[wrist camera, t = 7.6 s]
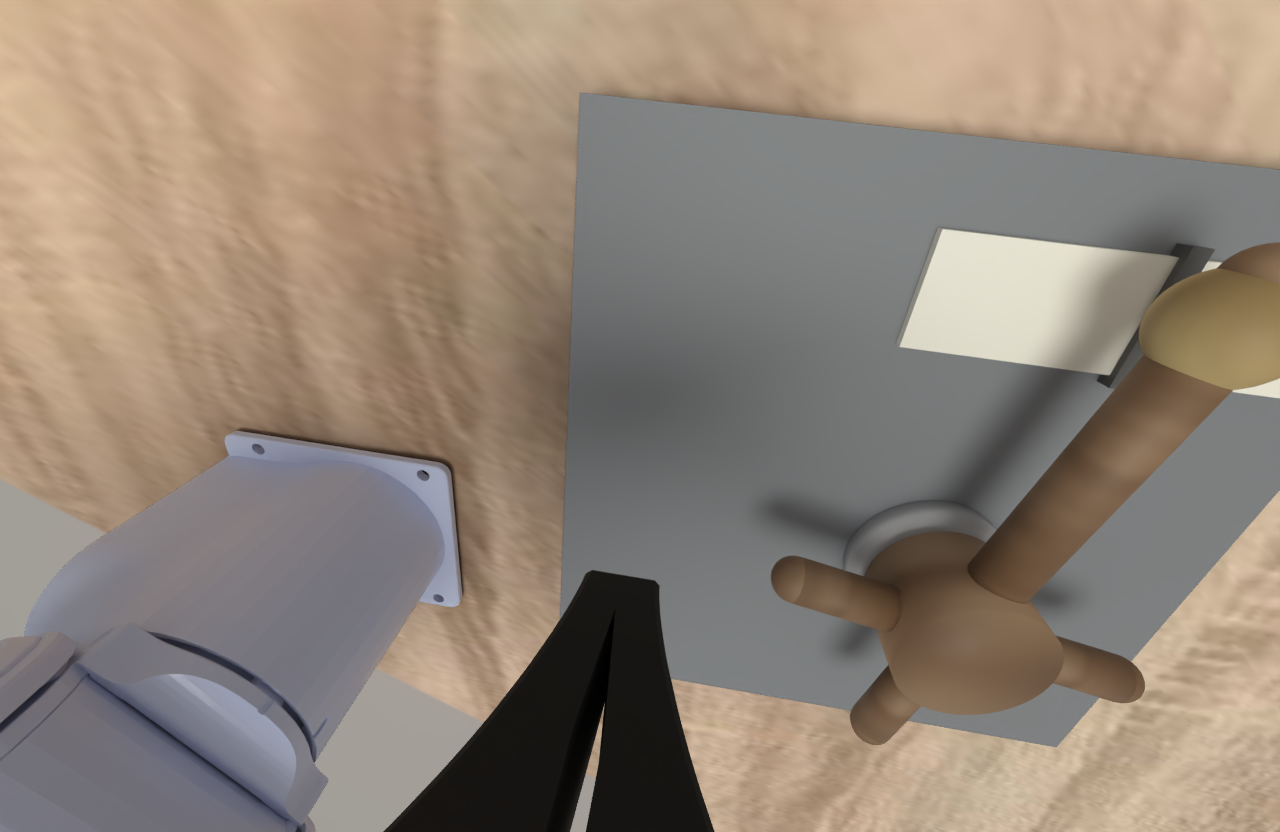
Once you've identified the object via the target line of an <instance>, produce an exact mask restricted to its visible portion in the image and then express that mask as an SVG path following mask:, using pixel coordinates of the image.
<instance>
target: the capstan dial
mask: <svg viewBox="0 0 1280 832" xmlns="http://www.w3.org/2000/svg"><path fill="white" fill-rule="evenodd" d="M1139 343H1140V347H1141V350H1142V353H1143V356H1142V358H1141V359H1140V360H1139V361H1138V362H1137V363H1136V365H1135V366H1134V367H1133V368H1132V369H1131V371H1130V372H1129V373H1128V374H1127V375H1126V377H1125V378H1124V379H1123V380H1122V381H1121V383H1120V384H1119V385H1118V386H1117V387H1116V388H1115V390H1114V391H1113V392H1112V393H1111V394H1110V396H1109V397H1108V398H1107V399H1106V400H1105V402H1104V403H1103V404H1102V405H1101V406H1100V408H1099V409H1098V410H1097V411H1096V412H1095V414H1094V415H1093V416H1092V417H1091V418H1090V419H1089V421H1088V422H1087V423H1086V424H1085V425H1084V427H1083V428H1082V429H1081V430H1080V431H1079V433H1078V434H1077V435H1076V436H1075V437H1074V439H1073V440H1072V441H1071V442H1070V443H1069V444H1068V446H1067V447H1066V448H1065V449H1064V450H1063V452H1062V453H1061V454H1060V455H1059V456H1058V458H1057V459H1056V460H1055V461H1054V462H1053V464H1052V465H1051V466H1050V467H1049V468H1048V470H1047V471H1046V472H1045V473H1044V474H1043V475H1042V477H1041V478H1040V479H1039V480H1038V481H1037V483H1036V484H1035V485H1034V486H1033V487H1032V489H1031V490H1030V491H1029V492H1028V493H1027V495H1026V496H1025V497H1024V498H1023V499H1022V500H1021V502H1020V503H1019V504H1018V505H1017V506H1016V508H1015V509H1014V510H1013V511H1012V512H1011V514H1010V515H1009V516H1008V517H1007V518H1006V520H1005V521H1004V522H1003V523H1002V524H1001V526H1000V527H999V528H998V529H997V530H996V531H995V533H994V534H993V535H992V536H991V537H990V539H989V540H988V541H987V542H986V543H985V542H983V541H981V540H979V539H978V538H975V537H972V536H970V535H966V534H962V533H957V532H946V531H938V532H927V533H921V534H917V535H913V536H910V537H907V538H904V539H902V540H899V541H897V542H895V543H893V544H892V545H890V546H888V547H887V548H885V549H884V550H883V551H881V552H880V553H879V554H878V555H877V556H876V557H875V558H874V559H873V560H872V562H871V563H870V564H869V566H868V568H867V569H866V572H865V574H864V576H861V575H858V574H855V573H852V572H848V571H845V570H842V569H839V568H835V567H832V566H829V565H826V564H822V563H819V562H816V561H813V560H810V559H806V558H803V557H800V556H786V557H783V558H781V559H780V560H779V561H777V562H776V564H775V565H774V567H773V569H772V572H771V584H772V586H773V589H774V591H775V592H776V594H777V595H778V596H779V597H780V598H781V599H783V600H785V601H787V602H789V603H792V604H795V605H798V606H802V607H805V608H808V609H811V610H815V611H818V612H821V613H825V614H828V615H831V616H834V617H838V618H841V619H844V620H847V621H851V622H854V623H857V624H861V625H864V626H867V627H870V628H874V629H876V631H877V634H878V636H879V639H880V642H881V645H882V648H883V651H884V654H885V657H886V659H887V662H888V666H887V667H886V668H885V669H884V670H883V672H882V673H881V674H880V675H879V676H878V677H877V679H876V680H875V681H874V682H873V683H872V685H871V686H870V687H869V688H868V689H867V690H866V692H865V693H864V694H863V695H862V696H861V698H860V699H859V700H858V701H857V702H856V703H855V705H854V706H853V708H852V710H851V714H850V721H851V725H852V728H853V730H854V732H855V733H856V734H857V736H858V737H859V738H860V739H862V740H863V741H864V742H866V743H869V744H872V745H881V744H884V743H886V742H887V741H888V740H889V739H890V738H891V737H892V736H893V735H894V734H895V733H896V732H897V731H898V730H899V729H900V728H901V727H902V726H903V725H904V724H905V723H906V722H907V721H908V719H909V718H910V717H911V716H912V715H913V714H914V713H915V712H916V711H917V710H918V709H919V708H920V707H921V706H922V707H925V708H928V709H930V710H934V711H938V712H942V713H948V714H957V715H979V714H988V713H994V712H999V711H1004V710H1007V709H1010V708H1014V707H1016V706H1019V705H1021V704H1024V703H1026V702H1028V701H1030V700H1032V699H1033V698H1035V697H1037V696H1038V695H1040V694H1041V693H1042V692H1044V691H1045V690H1046V689H1048V688H1049V687H1050V686H1051V685H1052V684H1053V683H1054V684H1057V685H1060V686H1063V687H1067V688H1070V689H1073V690H1076V691H1080V692H1083V693H1086V694H1090V695H1093V696H1096V697H1099V698H1103V699H1106V700H1109V701H1112V702H1118V703H1130V702H1133V701H1136V700H1137V699H1139V698H1140V697H1141V696H1142V694H1143V692H1144V689H1145V682H1144V678H1143V676H1142V674H1141V672H1140V671H1139V669H1138V668H1137V667H1136V666H1135V665H1134V664H1133V663H1132V662H1130V661H1129V660H1128V659H1126V658H1124V657H1122V656H1120V655H1117V654H1114V653H1111V652H1108V651H1105V650H1101V649H1098V648H1095V647H1092V646H1088V645H1085V644H1082V643H1079V642H1075V641H1072V640H1069V639H1066V638H1062V637H1059V636H1056V635H1055V634H1054V633H1053V631H1052V630H1051V628H1050V627H1049V626H1048V624H1047V623H1046V621H1045V620H1044V619H1043V617H1042V616H1041V614H1040V613H1039V612H1038V610H1037V609H1036V607H1035V606H1034V605H1033V603H1032V602H1031V600H1030V599H1031V598H1032V597H1033V596H1034V595H1035V594H1036V593H1037V592H1038V591H1039V590H1040V589H1041V588H1042V587H1043V586H1044V585H1045V584H1046V583H1047V582H1048V581H1049V580H1050V579H1051V578H1052V577H1053V576H1054V574H1055V573H1056V572H1057V571H1058V570H1059V569H1060V568H1061V567H1062V566H1063V565H1064V564H1065V563H1066V562H1067V561H1068V560H1069V559H1070V558H1071V557H1072V556H1073V555H1074V554H1075V553H1076V552H1077V551H1078V550H1079V549H1080V548H1081V547H1082V546H1083V545H1084V544H1085V543H1086V541H1087V540H1088V539H1089V538H1090V537H1091V536H1092V535H1093V534H1094V533H1095V532H1096V531H1097V530H1098V529H1099V528H1100V527H1101V526H1102V525H1103V524H1104V523H1105V522H1106V521H1107V520H1108V519H1109V518H1110V517H1111V516H1112V515H1113V514H1114V513H1115V512H1116V511H1117V510H1118V508H1119V507H1120V506H1121V505H1122V504H1123V503H1124V502H1125V501H1126V500H1127V499H1128V498H1129V497H1130V496H1131V495H1132V494H1133V493H1134V492H1135V491H1136V490H1137V489H1138V488H1139V487H1140V486H1141V485H1142V484H1143V483H1144V482H1145V481H1146V480H1147V479H1148V478H1149V477H1150V476H1151V474H1152V473H1153V472H1154V471H1155V470H1156V469H1157V468H1158V467H1159V466H1160V465H1161V464H1162V463H1163V462H1164V461H1165V460H1166V459H1167V458H1168V457H1169V456H1170V455H1171V454H1172V453H1173V452H1174V451H1175V450H1176V449H1177V448H1178V447H1179V446H1180V445H1181V444H1182V443H1183V441H1184V440H1185V439H1186V438H1187V437H1188V436H1189V435H1190V434H1191V433H1192V432H1193V431H1194V430H1195V429H1196V428H1197V427H1198V426H1199V425H1200V424H1201V423H1202V422H1203V421H1204V420H1205V419H1206V418H1207V417H1208V416H1209V415H1210V414H1211V413H1212V412H1213V411H1214V410H1215V408H1216V407H1217V406H1218V405H1219V404H1220V403H1221V402H1222V401H1223V400H1224V399H1225V398H1226V397H1227V396H1228V395H1229V394H1230V393H1231V392H1232V391H1233V390H1239V389H1245V388H1250V387H1255V386H1259V385H1263V384H1266V383H1269V382H1271V381H1274V380H1277V379H1279V378H1280V242H1276V243H1266V244H1262V245H1257V246H1253V247H1250V248H1248V249H1245V250H1242V251H1240V252H1238V253H1236V254H1235V255H1233V256H1231V257H1229V258H1228V259H1227V260H1225V261H1224V262H1222V263H1221V264H1220V265H1219V266H1218V267H1217V268H1216V269H1211V270H1207V271H1204V272H1201V273H1198V274H1195V275H1192V276H1190V277H1188V278H1186V279H1184V280H1182V281H1180V282H1178V283H1176V284H1174V285H1173V286H1171V287H1170V288H1168V289H1167V290H1166V291H1164V292H1163V293H1162V294H1161V295H1160V296H1159V297H1157V298H1156V299H1155V301H1154V302H1153V303H1152V304H1151V305H1150V307H1149V308H1148V309H1147V311H1146V313H1145V314H1144V316H1143V319H1142V321H1141V324H1140V329H1139Z"/></svg>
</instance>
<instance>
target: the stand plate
mask: <svg viewBox="0 0 1280 832" xmlns="http://www.w3.org/2000/svg"><path fill="white" fill-rule="evenodd" d="M1276 242H1280V170H1278V169H1268V168H1259V167H1250V166H1241V165H1232V164H1223V163H1214V162H1205V161H1196V160H1187V159H1178V158H1169V157H1160V156H1151V155H1141V154H1132V153H1123V152H1114V151H1105V150H1096V149H1087V148H1078V147H1069V146H1060V145H1051V144H1042V143H1033V142H1024V141H1014V140H1005V139H996V138H987V137H978V136H969V135H960V134H951V133H942V132H933V131H924V130H915V129H906V128H897V127H887V126H878V125H869V124H860V123H851V122H842V121H833V120H824V119H815V118H806V117H797V116H788V115H779V114H770V113H760V112H751V111H742V110H733V109H724V108H715V107H706V106H697V105H688V104H679V103H670V102H661V101H652V100H643V99H633V98H624V97H615V96H606V95H597V94H588V93H580V102H579V128H578V155H577V181H576V208H575V234H574V260H573V287H572V313H571V340H570V366H569V392H568V419H567V445H566V472H565V498H564V524H563V551H562V577H561V603H560V619H561V617H562V616H563V614H564V613H565V611H566V609H567V608H568V606H569V604H570V603H571V601H572V599H573V597H574V596H575V594H576V592H577V590H578V588H579V586H580V585H581V583H582V580H583V578H584V576H585V574H586V573H587V572H589V571H591V570H596V571H602V572H608V573H614V574H620V575H626V576H632V577H638V578H644V579H650V580H655V581H656V582H657V583H658V585H659V586H660V590H659V599H660V616H661V625H662V632H663V639H664V646H665V652H666V658H667V663H668V668H669V673H670V677H671V679H675V680H681V681H687V682H692V683H698V684H703V685H709V686H715V687H720V688H726V689H732V690H737V691H743V692H748V693H754V694H760V695H765V696H771V697H777V698H782V699H788V700H793V701H799V702H805V703H810V704H816V705H822V706H827V707H833V708H838V709H844V710H850V711H851V710H852V708H853V706H854V705H855V703H856V702H857V701H858V700H859V699H860V698H861V696H862V695H863V694H864V693H865V692H866V690H867V689H868V688H869V687H870V686H871V685H872V683H873V682H874V681H875V680H876V679H877V677H878V676H879V675H880V674H881V673H882V672H883V670H884V669H885V668H886V667H887V666H888V662H887V659H886V657H885V654H884V651H883V648H882V645H881V642H880V639H879V636H878V634H877V631H876V629H874V628H870V627H867V626H864V625H861V624H857V623H854V622H851V621H847V620H844V619H841V618H838V617H834V616H831V615H828V614H825V613H821V612H818V611H815V610H811V609H808V608H805V607H802V606H798V605H795V604H792V603H789V602H787V601H785V600H783V599H781V598H780V597H779V596H778V595H777V594H776V592H775V591H774V589H773V586H772V584H771V572H772V569H773V567H774V565H775V564H776V562H777V561H779V560H780V559H781V558H783V557H786V556H800V557H803V558H806V559H810V560H813V561H816V562H819V563H822V564H826V565H829V566H832V567H835V568H839V569H842V570H845V571H848V572H852V573H855V574H858V575H861V576H864V574H865V572H866V569H867V568H868V566H869V564H870V563H871V562H872V560H873V559H874V558H875V557H876V556H877V555H878V554H879V553H880V552H881V551H883V550H884V549H885V548H887V547H888V546H890V545H892V544H893V543H895V542H897V541H899V540H902V539H904V538H907V537H910V536H913V535H917V534H921V533H927V532H938V531H946V532H957V533H962V534H966V535H970V536H972V537H975V538H978V539H979V540H981V541H983V542H985V543H986V542H987V541H988V540H989V539H990V537H991V536H992V535H993V534H994V533H995V531H996V530H997V529H998V528H999V527H1000V526H1001V524H1002V523H1003V522H1004V521H1005V520H1006V518H1007V517H1008V516H1009V515H1010V514H1011V512H1012V511H1013V510H1014V509H1015V508H1016V506H1017V505H1018V504H1019V503H1020V502H1021V500H1022V499H1023V498H1024V497H1025V496H1026V495H1027V493H1028V492H1029V491H1030V490H1031V489H1032V487H1033V486H1034V485H1035V484H1036V483H1037V481H1038V480H1039V479H1040V478H1041V477H1042V475H1043V474H1044V473H1045V472H1046V471H1047V470H1048V468H1049V467H1050V466H1051V465H1052V464H1053V462H1054V461H1055V460H1056V459H1057V458H1058V456H1059V455H1060V454H1061V453H1062V452H1063V450H1064V449H1065V448H1066V447H1067V446H1068V444H1069V443H1070V442H1071V441H1072V440H1073V439H1074V437H1075V436H1076V435H1077V434H1078V433H1079V431H1080V430H1081V429H1082V428H1083V427H1084V425H1085V424H1086V423H1087V422H1088V421H1089V419H1090V418H1091V417H1092V416H1093V415H1094V414H1095V412H1096V411H1097V410H1098V409H1099V408H1100V406H1101V405H1102V404H1103V403H1104V402H1105V400H1106V399H1107V398H1108V397H1109V396H1110V394H1111V393H1112V392H1113V391H1114V390H1115V388H1116V387H1117V386H1118V385H1119V384H1120V383H1121V381H1122V380H1123V379H1124V378H1125V377H1126V375H1127V374H1128V373H1129V372H1130V371H1131V369H1132V368H1133V367H1134V366H1135V365H1136V363H1137V362H1138V361H1139V360H1140V359H1141V358H1142V356H1143V353H1142V350H1141V347H1140V343H1139V329H1140V324H1141V321H1142V319H1143V316H1144V314H1145V313H1146V311H1147V309H1148V308H1149V307H1150V305H1151V304H1152V303H1153V302H1154V301H1155V299H1156V298H1157V297H1159V296H1160V295H1161V294H1162V293H1163V292H1164V291H1166V290H1167V289H1168V288H1170V287H1171V286H1173V285H1174V284H1176V283H1178V282H1180V281H1182V280H1184V279H1186V278H1188V277H1190V276H1192V275H1195V274H1198V273H1201V272H1204V271H1207V270H1211V269H1216V268H1217V267H1218V266H1219V265H1220V264H1221V263H1222V262H1224V261H1225V260H1227V259H1228V258H1229V257H1231V256H1233V255H1235V254H1236V253H1238V252H1240V251H1242V250H1245V249H1248V248H1250V247H1253V246H1257V245H1262V244H1266V243H1276ZM1279 490H1280V378H1279V379H1277V380H1274V381H1271V382H1269V383H1266V384H1263V385H1259V386H1255V387H1250V388H1245V389H1239V390H1233V391H1232V392H1231V393H1230V394H1229V395H1228V396H1227V397H1226V398H1225V399H1224V400H1223V401H1222V402H1221V403H1220V404H1219V405H1218V406H1217V407H1216V408H1215V410H1214V411H1213V412H1212V413H1211V414H1210V415H1209V416H1208V417H1207V418H1206V419H1205V420H1204V421H1203V422H1202V423H1201V424H1200V425H1199V426H1198V427H1197V428H1196V429H1195V430H1194V431H1193V432H1192V433H1191V434H1190V435H1189V436H1188V437H1187V438H1186V439H1185V440H1184V441H1183V443H1182V444H1181V445H1180V446H1179V447H1178V448H1177V449H1176V450H1175V451H1174V452H1173V453H1172V454H1171V455H1170V456H1169V457H1168V458H1167V459H1166V460H1165V461H1164V462H1163V463H1162V464H1161V465H1160V466H1159V467H1158V468H1157V469H1156V470H1155V471H1154V472H1153V473H1152V474H1151V476H1150V477H1149V478H1148V479H1147V480H1146V481H1145V482H1144V483H1143V484H1142V485H1141V486H1140V487H1139V488H1138V489H1137V490H1136V491H1135V492H1134V493H1133V494H1132V495H1131V496H1130V497H1129V498H1128V499H1127V500H1126V501H1125V502H1124V503H1123V504H1122V505H1121V506H1120V507H1119V508H1118V510H1117V511H1116V512H1115V513H1114V514H1113V515H1112V516H1111V517H1110V518H1109V519H1108V520H1107V521H1106V522H1105V523H1104V524H1103V525H1102V526H1101V527H1100V528H1099V529H1098V530H1097V531H1096V532H1095V533H1094V534H1093V535H1092V536H1091V537H1090V538H1089V539H1088V540H1087V541H1086V543H1085V544H1084V545H1083V546H1082V547H1081V548H1080V549H1079V550H1078V551H1077V552H1076V553H1075V554H1074V555H1073V556H1072V557H1071V558H1070V559H1069V560H1068V561H1067V562H1066V563H1065V564H1064V565H1063V566H1062V567H1061V568H1060V569H1059V570H1058V571H1057V572H1056V573H1055V574H1054V576H1053V577H1052V578H1051V579H1050V580H1049V581H1048V582H1047V583H1046V584H1045V585H1044V586H1043V587H1042V588H1041V589H1040V590H1039V591H1038V592H1037V593H1036V594H1035V595H1034V596H1033V597H1032V598H1031V599H1030V600H1031V602H1032V603H1033V605H1034V606H1035V607H1036V609H1037V610H1038V612H1039V613H1040V614H1041V616H1042V617H1043V619H1044V620H1045V621H1046V623H1047V624H1048V626H1049V627H1050V628H1051V630H1052V631H1053V633H1054V634H1055V635H1056V636H1059V637H1062V638H1066V639H1069V640H1072V641H1075V642H1079V643H1082V644H1085V645H1088V646H1092V647H1095V648H1098V649H1101V650H1105V651H1108V652H1111V653H1114V654H1117V655H1120V656H1122V657H1124V658H1126V659H1128V660H1129V661H1130V662H1131V661H1132V660H1133V658H1134V657H1135V656H1136V655H1137V654H1138V653H1139V651H1140V650H1141V649H1142V648H1143V647H1144V646H1145V645H1146V643H1147V642H1148V641H1149V640H1150V639H1151V638H1152V637H1153V635H1154V634H1155V633H1156V632H1157V631H1158V630H1159V628H1160V627H1161V626H1162V625H1163V624H1164V623H1165V622H1166V620H1167V619H1168V618H1169V617H1170V616H1171V615H1172V613H1173V612H1174V611H1175V610H1176V609H1177V608H1178V607H1179V605H1180V604H1181V603H1182V602H1183V601H1184V600H1185V599H1186V597H1187V596H1188V595H1189V594H1190V593H1191V592H1192V590H1193V589H1194V588H1195V587H1196V586H1197V585H1198V584H1199V582H1200V581H1201V580H1202V579H1203V578H1204V577H1205V575H1206V574H1207V573H1208V572H1209V571H1210V570H1211V569H1212V567H1213V566H1214V565H1215V564H1216V563H1217V562H1218V561H1219V559H1220V558H1221V557H1222V556H1223V555H1224V554H1225V552H1226V551H1227V550H1228V549H1229V548H1230V547H1231V546H1232V544H1233V543H1234V542H1235V541H1236V540H1237V539H1238V538H1239V536H1240V535H1241V534H1242V533H1243V532H1244V531H1245V529H1246V528H1247V527H1248V526H1249V525H1250V524H1251V523H1252V521H1253V520H1254V519H1255V518H1256V517H1257V516H1258V514H1259V513H1260V512H1261V511H1262V510H1263V509H1264V508H1265V506H1266V505H1267V504H1268V503H1269V502H1270V501H1271V500H1272V498H1273V497H1274V496H1275V495H1276V494H1277V493H1278V491H1279ZM1098 699H1099V697H1096V696H1093V695H1090V694H1086V693H1083V692H1080V691H1076V690H1073V689H1070V688H1067V687H1063V686H1060V685H1057V684H1054V683H1053V684H1052V685H1051V686H1050V687H1049V688H1048V689H1046V690H1045V691H1044V692H1042V693H1041V694H1040V695H1038V696H1037V697H1035V698H1033V699H1032V700H1030V701H1028V702H1026V703H1024V704H1021V705H1019V706H1016V707H1014V708H1010V709H1007V710H1004V711H999V712H994V713H988V714H979V715H957V714H948V713H942V712H938V711H934V710H930V709H928V708H925V707H922V706H921V707H920V708H919V709H918V710H917V711H916V712H915V713H914V714H913V715H912V716H911V717H910V718H909V719H908V721H912V722H917V723H923V724H928V725H934V726H940V727H945V728H951V729H957V730H962V731H968V732H973V733H979V734H985V735H990V736H996V737H1001V738H1007V739H1013V740H1018V741H1024V742H1030V743H1035V744H1041V745H1046V746H1052V747H1057V746H1058V745H1059V744H1060V742H1061V741H1062V740H1063V739H1064V738H1065V737H1066V736H1067V734H1068V733H1069V732H1070V731H1071V730H1072V729H1073V727H1074V726H1075V725H1076V724H1077V723H1078V722H1079V721H1080V719H1081V718H1082V717H1083V716H1084V715H1085V714H1086V712H1087V711H1088V710H1089V709H1090V708H1091V707H1092V706H1093V704H1094V703H1095V702H1096V701H1097V700H1098Z"/></svg>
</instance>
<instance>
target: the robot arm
mask: <svg viewBox="0 0 1280 832" xmlns="http://www.w3.org/2000/svg"><path fill="white" fill-rule="evenodd" d="M224 440H225V445H226V448H227V451H228V454H229V456H228V457H226V458H225V459H223V460H222V461H220V462H219V463H217V464H215V465H214V466H212V467H211V468H209V469H207V470H206V471H204V472H203V473H201V474H200V475H198V476H196V477H195V478H193V479H192V480H190V481H189V482H187V483H185V484H184V485H182V486H181V487H179V488H178V489H176V490H174V491H173V492H171V493H170V494H168V495H167V496H165V497H163V498H162V499H160V500H159V501H157V502H156V503H154V504H152V505H151V506H149V507H148V508H146V509H145V510H143V511H141V512H140V513H138V514H137V515H135V516H134V517H132V518H130V519H129V520H127V521H126V522H124V523H123V524H121V525H119V526H118V527H116V528H115V529H113V530H112V531H110V532H108V533H107V534H105V535H104V536H102V537H100V538H99V539H97V540H96V541H94V542H93V543H91V544H90V545H89V546H87V547H86V548H85V549H83V550H82V551H81V552H79V553H78V554H77V555H76V556H75V557H73V558H72V559H71V560H70V561H69V562H68V563H67V564H66V565H65V566H64V567H63V568H62V569H61V570H60V571H59V572H58V573H57V575H56V576H55V577H54V578H53V579H52V580H51V582H50V583H49V584H48V586H47V587H46V588H45V590H44V591H43V593H42V594H41V596H40V597H39V599H38V600H37V602H36V604H35V605H34V607H33V609H32V611H31V613H30V615H29V618H28V621H27V624H26V627H25V631H24V636H23V637H13V638H7V639H4V640H1V641H0V832H316V829H315V825H314V823H313V822H312V821H311V819H310V818H309V817H308V814H309V813H310V811H311V809H312V808H313V806H314V804H315V803H316V801H317V799H318V798H319V796H320V795H321V793H322V791H323V790H324V788H325V786H326V785H327V783H328V778H327V777H326V776H325V775H324V774H323V773H322V772H320V770H319V769H318V768H317V767H316V766H315V764H314V763H315V761H316V759H317V758H318V756H319V755H320V753H321V752H322V750H323V749H324V747H325V746H326V744H327V742H328V741H329V739H330V738H331V736H332V735H333V733H334V732H335V730H336V728H337V727H338V725H339V724H340V722H341V721H342V719H343V718H344V716H345V715H346V713H347V711H348V710H349V708H350V707H351V705H352V704H353V702H354V700H355V699H356V697H357V696H358V694H359V693H360V691H361V690H362V688H363V686H364V685H365V684H366V682H367V680H368V679H369V677H370V676H371V674H372V673H373V671H374V670H375V668H376V667H377V665H378V663H379V662H380V660H381V659H382V657H383V656H384V654H385V653H386V651H387V649H388V648H389V646H390V645H391V643H392V642H393V640H394V639H395V637H396V636H397V634H398V632H399V631H400V629H401V628H402V626H403V625H404V623H405V622H406V620H407V618H408V617H409V615H410V614H411V612H412V611H413V609H414V608H415V606H416V604H417V603H418V602H424V603H430V604H435V605H441V606H447V607H455V606H458V605H459V603H460V601H461V600H462V587H461V576H460V565H459V554H458V544H457V533H456V522H455V511H454V500H453V489H452V479H451V472H450V470H449V469H448V467H447V466H445V465H444V464H442V463H439V462H434V461H427V460H421V459H414V458H408V457H402V456H395V455H389V454H383V453H376V452H370V451H363V450H357V449H351V448H344V447H338V446H332V445H325V444H319V443H312V442H306V441H300V440H293V439H287V438H280V437H274V436H268V435H261V434H255V433H249V432H242V431H234V432H232V433H231V434H229V435H227V436H226V437H225V439H224ZM422 470H424V471H426V472H427V473H428V474H429V475H426V474H425V473H424V472H423V471H422ZM659 590H660V586H659V585H658V583H657V582H656V581H655V580H650V579H644V578H638V577H632V576H626V575H620V574H614V573H608V572H602V571H596V570H591V571H589V572H587V573H586V574H585V576H584V578H583V580H582V583H581V585H580V586H579V588H578V590H577V592H576V594H575V596H574V597H573V599H572V601H571V603H570V604H569V606H568V608H567V609H566V611H565V613H564V614H563V616H562V617H561V619H560V621H559V622H558V624H557V625H556V627H555V628H554V630H553V631H552V633H551V634H550V636H549V637H548V639H547V640H546V641H545V643H544V644H543V646H542V647H541V649H540V650H539V652H538V653H537V654H536V656H535V657H534V659H533V660H532V662H531V663H530V664H529V666H528V667H527V668H526V670H525V671H524V673H523V674H522V675H521V676H520V678H519V679H518V680H517V682H516V683H515V684H514V685H513V687H512V688H511V689H510V691H509V692H508V693H507V694H506V696H505V697H504V698H503V700H502V701H501V702H500V703H499V705H498V706H497V707H496V709H495V710H494V711H493V712H492V714H491V715H490V716H489V717H488V718H487V720H486V721H485V722H484V723H483V724H482V726H481V727H480V728H479V729H478V730H477V732H476V733H475V734H474V735H473V736H472V737H471V739H470V740H469V741H468V742H467V743H466V744H465V745H464V747H463V748H462V749H461V750H460V751H459V752H458V753H457V754H456V756H455V757H454V758H453V759H452V760H451V761H450V762H449V764H448V765H447V766H446V767H445V768H444V769H443V770H442V771H441V772H440V773H439V775H438V776H437V777H436V778H435V779H434V780H433V781H432V782H431V783H430V784H429V785H428V786H427V787H426V788H425V789H424V790H423V791H422V792H421V794H419V796H418V797H417V798H416V799H415V800H414V801H413V802H412V803H411V804H410V805H409V806H408V807H407V808H406V809H405V810H404V811H403V812H402V813H401V815H399V817H397V819H396V820H395V821H394V822H393V823H392V824H391V825H390V826H389V827H388V828H387V829H386V830H385V831H384V832H570V829H571V825H572V822H573V818H574V814H575V811H576V807H577V803H578V799H579V796H580V792H581V789H582V785H583V781H584V777H585V774H586V770H587V766H588V763H589V759H590V755H591V752H592V748H593V744H594V740H595V737H596V733H597V729H598V726H599V722H600V718H601V714H602V711H603V707H604V717H603V727H602V737H601V747H600V757H599V765H598V770H597V776H596V781H595V787H594V792H593V797H592V802H591V808H590V813H589V818H588V823H587V829H586V832H714V829H713V826H712V823H711V820H710V817H709V814H708V811H707V808H706V805H705V802H704V799H703V796H702V793H701V790H700V787H699V784H698V780H697V777H696V774H695V771H694V767H693V764H692V760H691V757H690V754H689V750H688V746H687V743H686V739H685V735H684V732H683V728H682V724H681V721H680V717H679V713H678V708H677V704H676V700H675V696H674V691H673V686H672V682H671V677H670V673H669V668H668V663H667V658H666V652H665V646H664V639H663V632H662V625H661V616H660V599H659ZM604 703H605V706H604Z"/></svg>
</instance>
